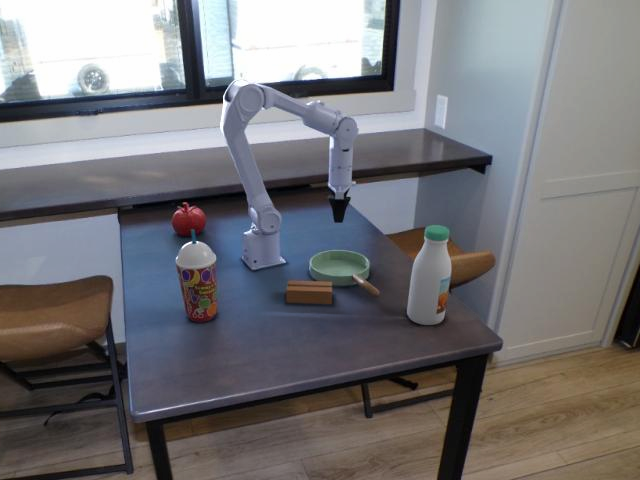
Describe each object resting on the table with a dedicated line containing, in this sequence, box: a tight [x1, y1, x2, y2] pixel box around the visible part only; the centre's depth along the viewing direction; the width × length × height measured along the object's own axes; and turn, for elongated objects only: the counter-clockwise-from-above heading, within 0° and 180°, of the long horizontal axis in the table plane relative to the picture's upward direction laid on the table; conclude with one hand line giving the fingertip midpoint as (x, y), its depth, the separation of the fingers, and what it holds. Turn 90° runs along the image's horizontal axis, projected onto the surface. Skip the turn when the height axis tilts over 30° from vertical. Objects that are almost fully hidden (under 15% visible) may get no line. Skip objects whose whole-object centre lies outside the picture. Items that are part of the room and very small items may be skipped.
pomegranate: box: [171, 202, 207, 237], centre depth 152 cm, size 10×10×9 cm
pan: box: [308, 249, 371, 287], centre depth 128 cm, size 15×15×3 cm
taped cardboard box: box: [285, 280, 333, 305], centre depth 117 cm, size 10×5×4 cm, turn 83°
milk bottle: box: [406, 224, 452, 326], centre depth 105 cm, size 8×8×20 cm
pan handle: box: [352, 274, 381, 299], centre depth 118 cm, size 10×2×2 cm, turn 23°
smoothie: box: [174, 229, 218, 323], centre depth 108 cm, size 8×8×20 cm
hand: (338, 216), depth 136 cm, fingers open, 7 cm apart
